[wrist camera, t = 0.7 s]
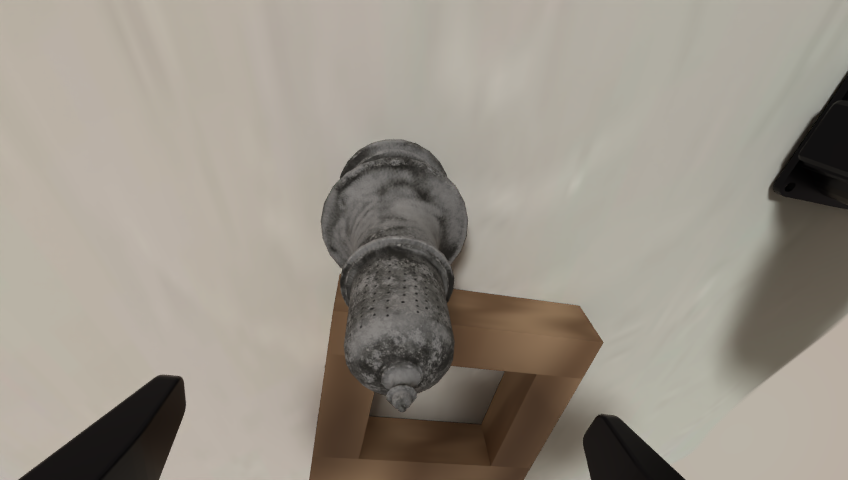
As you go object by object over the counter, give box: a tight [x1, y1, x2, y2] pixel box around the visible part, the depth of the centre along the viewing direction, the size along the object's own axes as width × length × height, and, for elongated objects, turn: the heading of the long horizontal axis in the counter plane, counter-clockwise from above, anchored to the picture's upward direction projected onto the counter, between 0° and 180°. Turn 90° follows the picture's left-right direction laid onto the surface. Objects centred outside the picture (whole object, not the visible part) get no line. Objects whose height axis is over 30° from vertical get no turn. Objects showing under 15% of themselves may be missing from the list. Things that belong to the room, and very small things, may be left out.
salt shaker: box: [321, 140, 468, 412], centre depth 14 cm, size 6×6×12 cm
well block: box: [309, 274, 603, 480], centre depth 24 cm, size 14×14×3 cm
